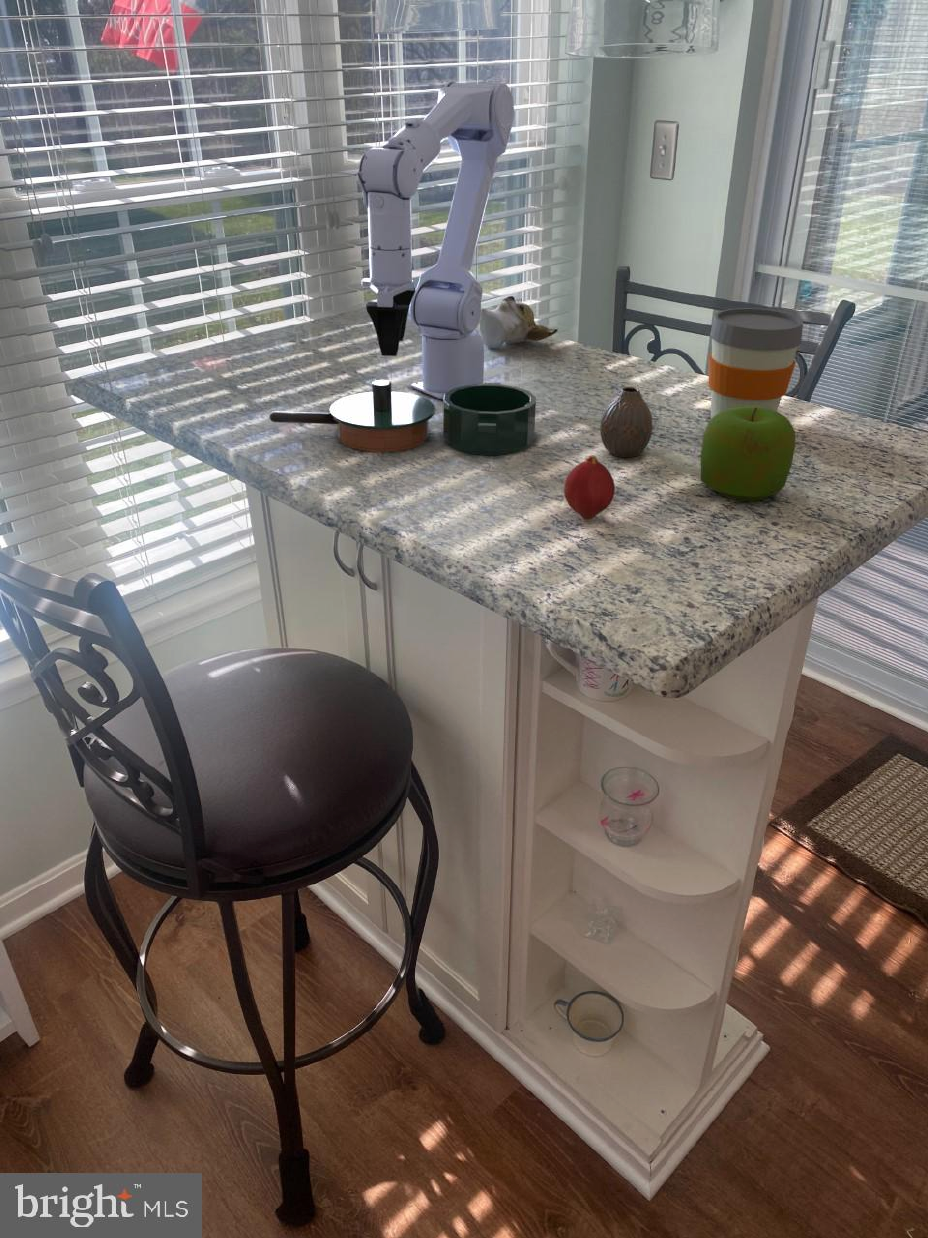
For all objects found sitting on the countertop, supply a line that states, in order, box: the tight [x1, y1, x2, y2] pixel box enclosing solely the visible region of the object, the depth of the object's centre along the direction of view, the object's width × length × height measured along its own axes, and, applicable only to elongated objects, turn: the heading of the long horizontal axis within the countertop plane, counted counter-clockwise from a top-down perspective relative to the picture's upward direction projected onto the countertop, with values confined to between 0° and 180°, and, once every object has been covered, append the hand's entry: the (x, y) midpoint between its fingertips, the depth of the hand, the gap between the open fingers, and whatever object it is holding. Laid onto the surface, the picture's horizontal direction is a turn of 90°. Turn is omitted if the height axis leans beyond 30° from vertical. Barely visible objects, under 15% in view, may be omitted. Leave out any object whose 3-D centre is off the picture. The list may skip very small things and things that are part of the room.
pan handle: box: [269, 410, 337, 425], centre depth 138 cm, size 10×2×2 cm, turn 86°
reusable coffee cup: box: [708, 307, 804, 420], centre depth 142 cm, size 12×13×15 cm
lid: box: [329, 379, 436, 430], centre depth 136 cm, size 15×15×5 cm
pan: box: [336, 419, 430, 453], centre depth 138 cm, size 13×13×4 cm
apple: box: [700, 406, 796, 503], centre depth 121 cm, size 11×11×11 cm
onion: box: [563, 454, 616, 520], centre depth 114 cm, size 6×6×8 cm
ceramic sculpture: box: [477, 295, 559, 349], centre depth 178 cm, size 11×9×15 cm
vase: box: [600, 386, 654, 458], centre depth 132 cm, size 7×7×9 cm
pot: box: [442, 382, 537, 456], centre depth 137 cm, size 13×18×6 cm
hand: (392, 347), depth 140 cm, fingers open, 7 cm apart
